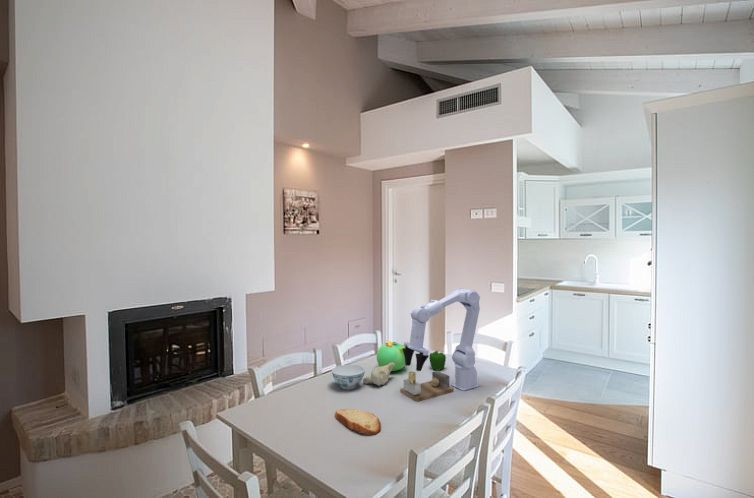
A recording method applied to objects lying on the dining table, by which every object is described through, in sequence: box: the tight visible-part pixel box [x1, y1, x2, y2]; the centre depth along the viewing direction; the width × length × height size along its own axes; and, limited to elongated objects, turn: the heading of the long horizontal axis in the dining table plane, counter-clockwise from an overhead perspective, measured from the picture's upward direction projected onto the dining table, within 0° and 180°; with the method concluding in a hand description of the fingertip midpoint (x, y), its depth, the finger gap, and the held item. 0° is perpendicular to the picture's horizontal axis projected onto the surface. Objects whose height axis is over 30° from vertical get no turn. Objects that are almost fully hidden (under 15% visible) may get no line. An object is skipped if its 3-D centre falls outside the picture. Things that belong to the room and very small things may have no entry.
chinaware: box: [331, 364, 366, 390], centre depth 174 cm, size 15×15×8 cm
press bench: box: [399, 370, 454, 403], centre depth 168 cm, size 20×12×6 cm, turn 122°
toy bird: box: [376, 340, 406, 372], centre depth 197 cm, size 18×17×15 cm
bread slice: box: [334, 408, 382, 436], centre depth 139 cm, size 18×18×4 cm
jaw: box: [403, 371, 421, 395], centre depth 163 cm, size 3×8×8 cm, turn 32°
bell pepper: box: [428, 350, 447, 371], centre depth 198 cm, size 8×8×10 cm
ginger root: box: [362, 362, 395, 386], centre depth 178 cm, size 15×7×15 cm
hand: (413, 368), depth 163 cm, fingers open, 7 cm apart
